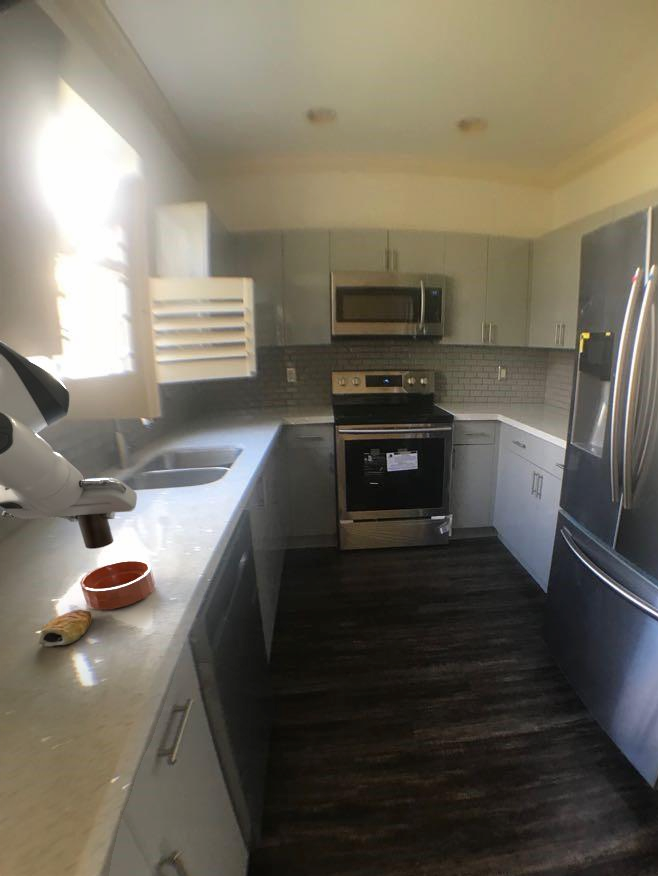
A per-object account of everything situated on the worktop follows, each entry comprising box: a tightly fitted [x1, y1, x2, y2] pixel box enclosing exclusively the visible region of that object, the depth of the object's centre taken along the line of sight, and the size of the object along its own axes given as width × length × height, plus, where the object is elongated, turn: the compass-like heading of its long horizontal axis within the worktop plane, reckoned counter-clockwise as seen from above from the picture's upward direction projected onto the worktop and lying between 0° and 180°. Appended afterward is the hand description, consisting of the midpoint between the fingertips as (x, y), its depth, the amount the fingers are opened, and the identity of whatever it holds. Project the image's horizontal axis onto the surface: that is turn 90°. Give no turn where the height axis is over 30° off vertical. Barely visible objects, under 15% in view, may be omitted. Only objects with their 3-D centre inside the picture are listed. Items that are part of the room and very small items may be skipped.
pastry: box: [37, 609, 93, 648], centre depth 85 cm, size 9×7×4 cm
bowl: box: [79, 559, 156, 610], centre depth 97 cm, size 13×13×5 cm
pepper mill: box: [76, 513, 115, 550], centre depth 88 cm, size 5×5×11 cm
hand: (93, 516), depth 88 cm, fingers closed on pepper mill, 5 cm apart
